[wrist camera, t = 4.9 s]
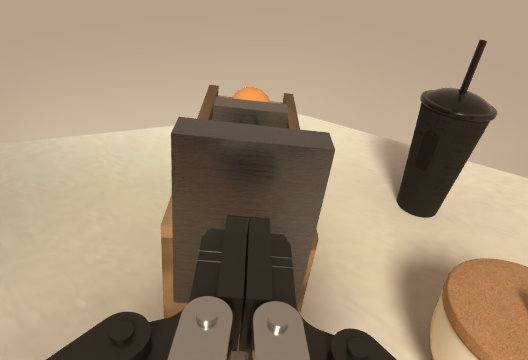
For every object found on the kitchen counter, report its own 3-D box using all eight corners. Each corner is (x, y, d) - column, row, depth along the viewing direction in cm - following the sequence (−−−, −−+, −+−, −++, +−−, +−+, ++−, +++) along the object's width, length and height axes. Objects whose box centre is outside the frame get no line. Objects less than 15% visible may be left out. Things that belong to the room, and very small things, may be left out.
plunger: (173, 304, 19) (171, 133, 14) (213, 139, 34) (219, 31, 29) (295, 314, 19) (335, 150, 14) (280, 146, 34) (296, 40, 30)
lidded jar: (461, 306, 35) (508, 225, 30) (595, 414, 27) (686, 331, 22) (380, 358, 29) (421, 270, 24) (520, 511, 22) (620, 430, 17)
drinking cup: (456, 230, 44) (542, 55, 34) (390, 218, 45) (454, 42, 34) (440, 194, 51) (508, 38, 40) (382, 184, 51) (434, 28, 41)
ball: (226, 134, 36) (229, 93, 34) (229, 117, 39) (232, 79, 37) (268, 138, 36) (274, 98, 34) (268, 121, 40) (273, 83, 38)
